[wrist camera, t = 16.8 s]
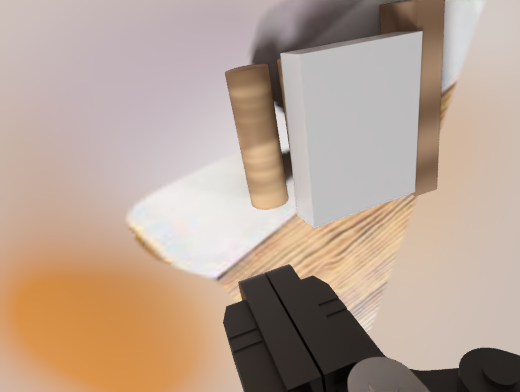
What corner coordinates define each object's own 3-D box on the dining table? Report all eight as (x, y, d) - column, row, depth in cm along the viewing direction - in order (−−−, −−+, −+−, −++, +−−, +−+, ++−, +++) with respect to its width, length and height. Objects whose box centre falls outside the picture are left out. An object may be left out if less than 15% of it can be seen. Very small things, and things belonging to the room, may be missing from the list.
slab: (280, 53, 29) (300, 54, 26) (395, 31, 32) (422, 31, 30) (296, 214, 35) (314, 228, 32) (392, 182, 38) (414, 192, 36)
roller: (220, 71, 32) (230, 75, 28) (260, 62, 32) (274, 65, 29) (247, 198, 37) (258, 213, 34) (280, 188, 38) (294, 202, 34)
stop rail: (380, 5, 34) (417, 1, 29) (404, 0, 34) (444, -5, 30) (384, 178, 41) (415, 196, 37) (404, 172, 42) (437, 189, 37)
